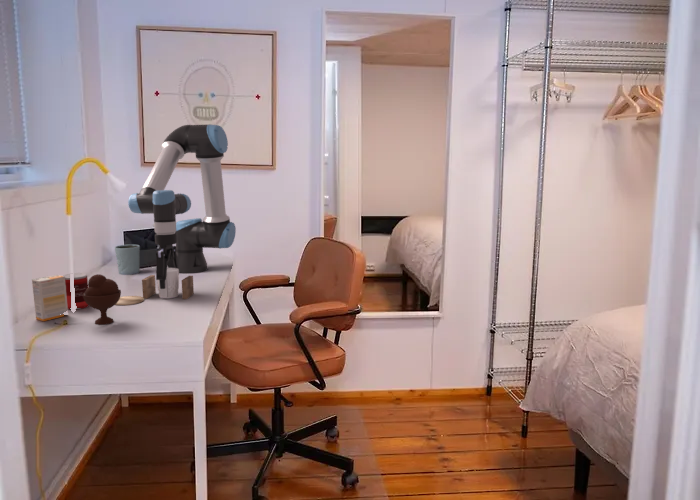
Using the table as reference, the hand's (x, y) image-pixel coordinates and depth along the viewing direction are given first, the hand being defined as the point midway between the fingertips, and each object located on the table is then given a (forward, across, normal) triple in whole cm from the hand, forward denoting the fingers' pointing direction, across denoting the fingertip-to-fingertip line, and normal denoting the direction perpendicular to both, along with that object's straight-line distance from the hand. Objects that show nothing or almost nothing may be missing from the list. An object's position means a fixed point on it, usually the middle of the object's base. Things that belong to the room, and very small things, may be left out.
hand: (168, 294), depth 203 cm
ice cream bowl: (+1, +33, -8) cm, 34 cm away
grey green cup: (+1, -40, -33) cm, 52 cm away
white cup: (+1, 0, 0) cm, 1 cm away
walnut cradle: (+1, 0, 0) cm, 1 cm away
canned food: (+1, +16, -26) cm, 31 cm away
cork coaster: (+1, +8, -12) cm, 14 cm away
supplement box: (+1, +29, -27) cm, 40 cm away
